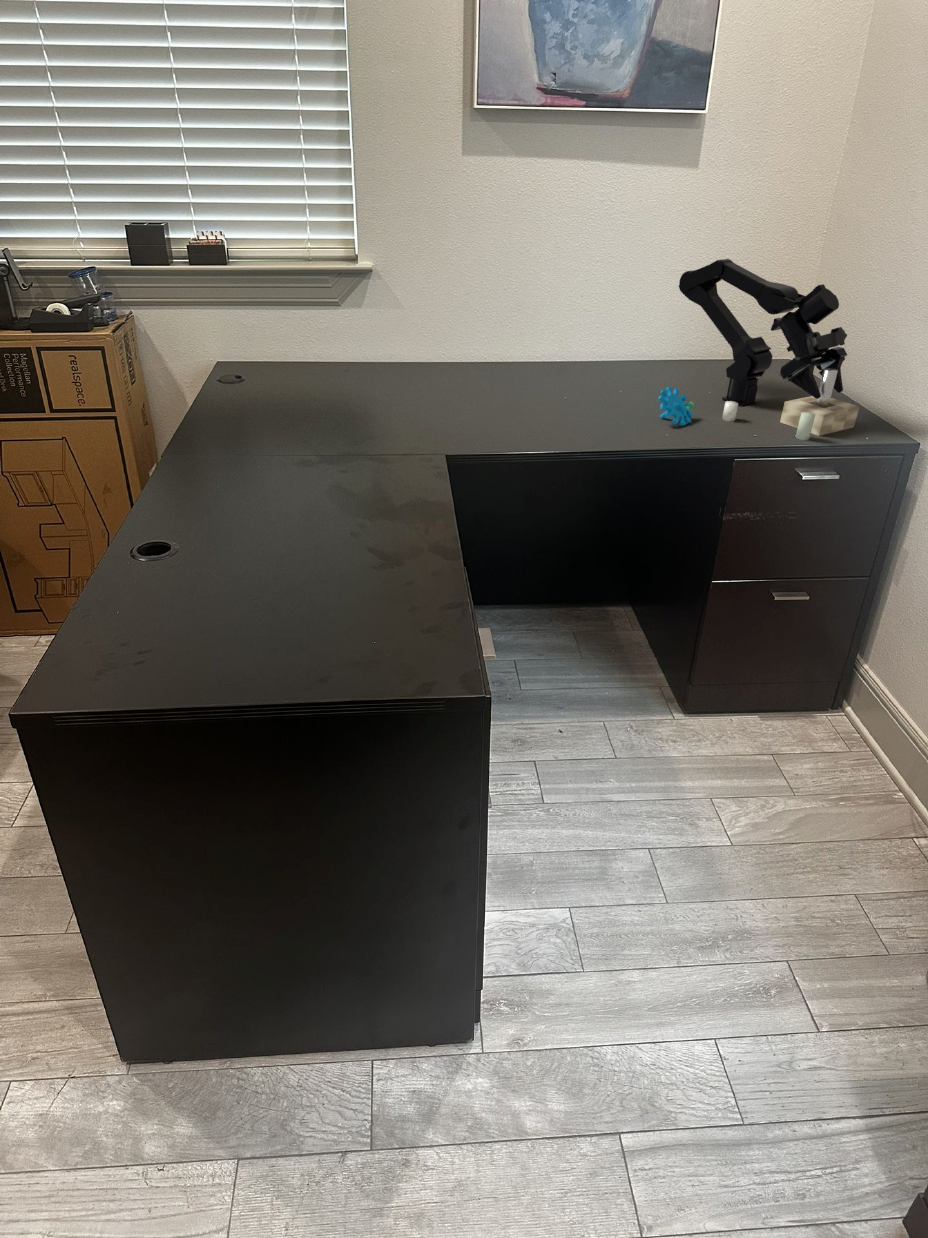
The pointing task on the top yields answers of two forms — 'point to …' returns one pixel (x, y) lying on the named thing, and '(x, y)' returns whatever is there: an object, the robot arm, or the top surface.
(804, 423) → the mid pin
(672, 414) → the blue spiky toy
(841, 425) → the hole block
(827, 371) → the long pin
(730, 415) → the short pin
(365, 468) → the top surface
